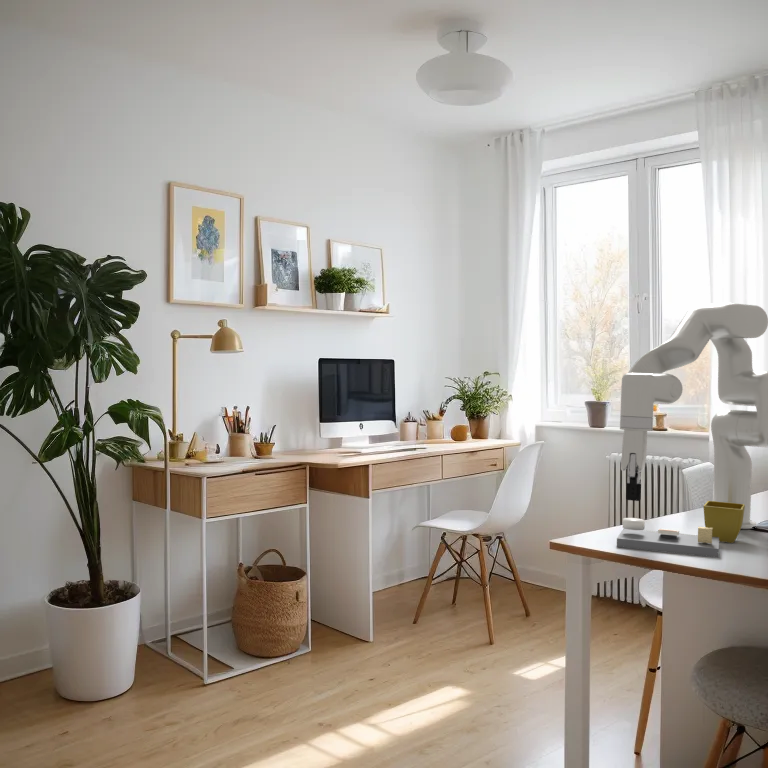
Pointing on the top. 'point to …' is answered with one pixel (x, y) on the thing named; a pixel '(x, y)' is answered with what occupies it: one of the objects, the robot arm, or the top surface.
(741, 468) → the robot arm
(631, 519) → the push button
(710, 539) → the cream small block
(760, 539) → the top surface
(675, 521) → the top surface
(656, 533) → the switch panel
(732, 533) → the flower pot
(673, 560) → the top surface
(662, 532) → the rocker
